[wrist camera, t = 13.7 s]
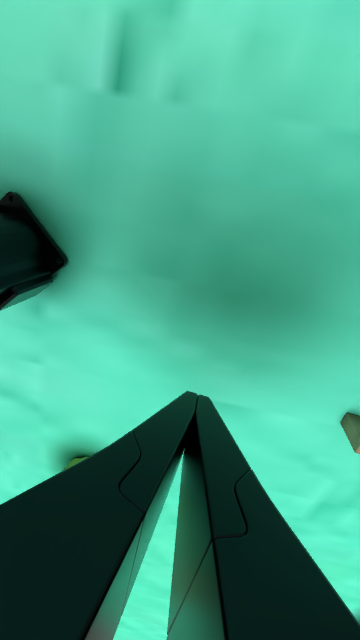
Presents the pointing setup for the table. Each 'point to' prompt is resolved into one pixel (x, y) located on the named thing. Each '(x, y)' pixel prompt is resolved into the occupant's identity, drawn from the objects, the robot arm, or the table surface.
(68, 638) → the robot arm
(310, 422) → the table surface
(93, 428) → the table surface
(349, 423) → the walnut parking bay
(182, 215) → the table surface
